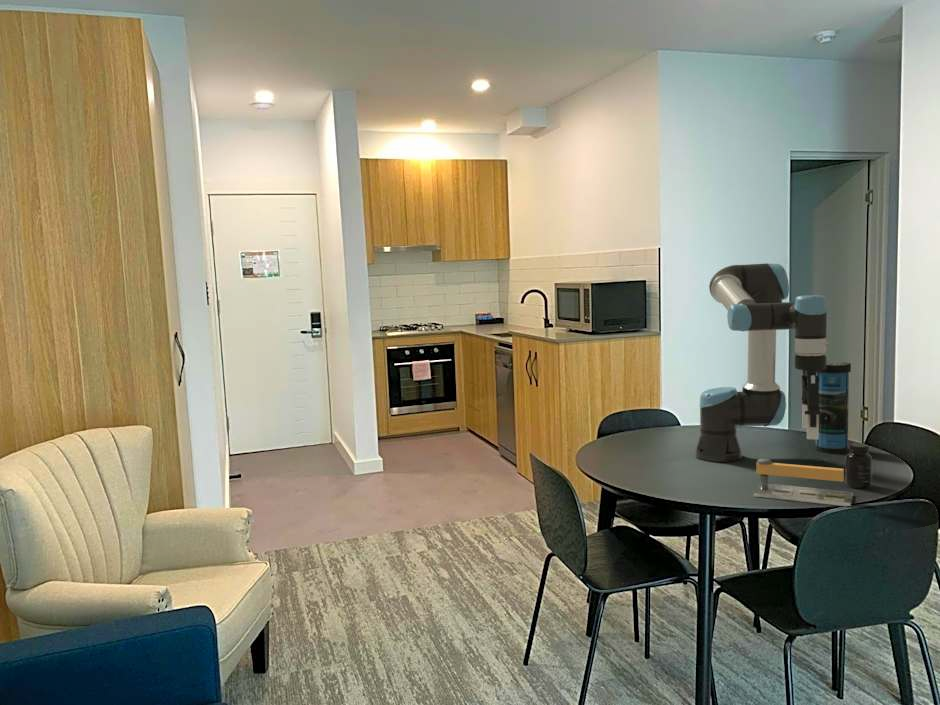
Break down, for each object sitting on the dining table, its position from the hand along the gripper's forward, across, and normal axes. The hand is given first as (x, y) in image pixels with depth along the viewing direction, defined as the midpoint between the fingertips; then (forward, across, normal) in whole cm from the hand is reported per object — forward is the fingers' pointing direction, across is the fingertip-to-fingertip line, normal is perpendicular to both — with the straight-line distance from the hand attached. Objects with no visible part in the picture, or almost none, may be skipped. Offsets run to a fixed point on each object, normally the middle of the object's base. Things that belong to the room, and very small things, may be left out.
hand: (810, 433), depth 195 cm
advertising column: (+19, +64, -12) cm, 68 cm away
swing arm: (+14, +7, +2) cm, 15 cm away
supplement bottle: (+19, +20, -14) cm, 31 cm away
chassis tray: (+19, +7, +1) cm, 20 cm away
